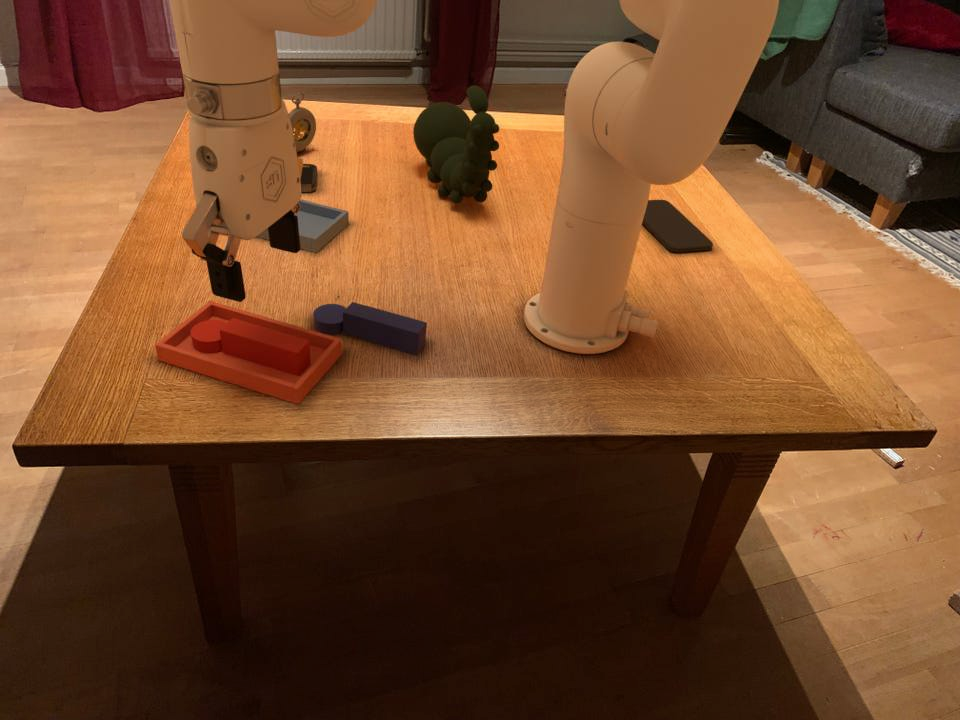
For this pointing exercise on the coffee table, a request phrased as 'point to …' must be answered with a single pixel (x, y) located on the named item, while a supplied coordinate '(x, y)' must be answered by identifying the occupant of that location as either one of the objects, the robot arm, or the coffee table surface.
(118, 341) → the coffee table surface
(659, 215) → the phone
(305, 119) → the pocket watch
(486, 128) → the toy figurine
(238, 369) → the red tray
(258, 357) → the red spoon
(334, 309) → the blue spoon
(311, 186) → the phone
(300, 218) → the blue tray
